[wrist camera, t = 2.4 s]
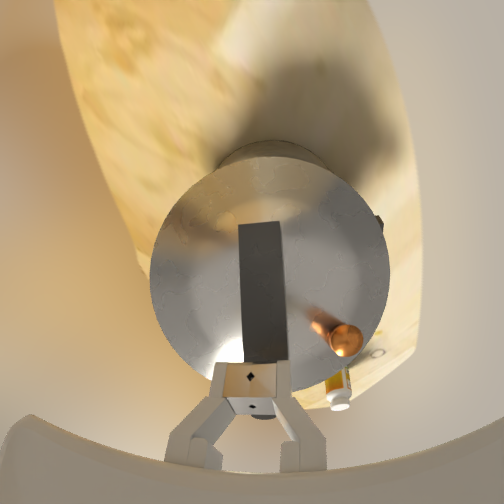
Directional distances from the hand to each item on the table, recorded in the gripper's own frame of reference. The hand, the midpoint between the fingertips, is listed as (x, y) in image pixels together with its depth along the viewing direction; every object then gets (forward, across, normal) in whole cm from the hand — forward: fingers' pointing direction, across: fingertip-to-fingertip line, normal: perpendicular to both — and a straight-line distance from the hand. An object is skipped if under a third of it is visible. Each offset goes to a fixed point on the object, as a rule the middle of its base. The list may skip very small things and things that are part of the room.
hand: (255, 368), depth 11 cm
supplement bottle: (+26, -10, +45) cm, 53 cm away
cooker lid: (+9, 0, +2) cm, 9 cm away
